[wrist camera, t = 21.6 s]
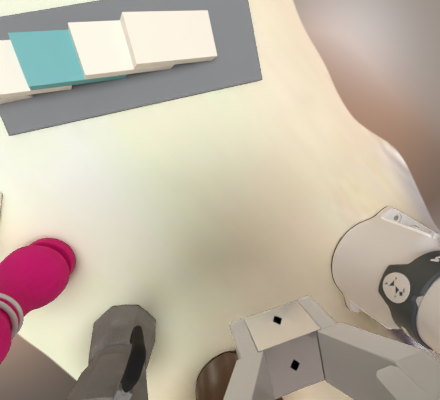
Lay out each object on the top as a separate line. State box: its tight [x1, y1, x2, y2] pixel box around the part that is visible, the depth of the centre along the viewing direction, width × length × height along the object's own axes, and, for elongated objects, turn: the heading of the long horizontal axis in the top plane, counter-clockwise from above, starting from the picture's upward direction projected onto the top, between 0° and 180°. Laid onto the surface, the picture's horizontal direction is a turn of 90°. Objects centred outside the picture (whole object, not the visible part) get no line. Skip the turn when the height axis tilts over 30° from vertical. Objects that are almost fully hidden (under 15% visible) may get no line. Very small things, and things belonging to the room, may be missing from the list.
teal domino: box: [8, 30, 127, 91], centre depth 29 cm, size 2×5×10 cm
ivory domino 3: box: [120, 10, 217, 69], centre depth 31 cm, size 2×5×10 cm
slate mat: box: [0, 0, 262, 136], centre depth 32 cm, size 32×12×1 cm, turn 103°
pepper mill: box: [0, 238, 75, 364], centre depth 26 cm, size 7×7×20 cm
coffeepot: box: [66, 305, 156, 400], centre depth 31 cm, size 15×9×18 cm, turn 153°
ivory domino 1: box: [0, 40, 72, 98], centre depth 28 cm, size 2×5×10 cm
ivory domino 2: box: [68, 20, 174, 80], centre depth 30 cm, size 2×5×10 cm
